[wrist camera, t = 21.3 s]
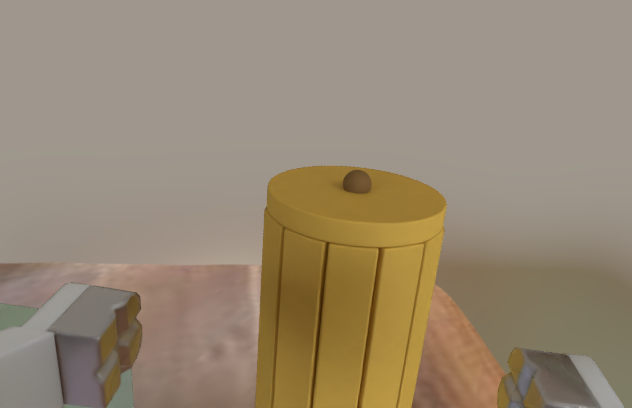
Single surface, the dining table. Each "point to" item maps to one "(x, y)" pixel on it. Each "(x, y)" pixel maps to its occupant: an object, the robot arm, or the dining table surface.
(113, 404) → the display block
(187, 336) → the dining table surface
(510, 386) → the robot arm
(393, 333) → the slatted lidded canister
